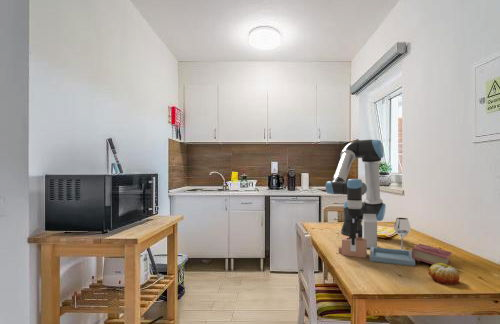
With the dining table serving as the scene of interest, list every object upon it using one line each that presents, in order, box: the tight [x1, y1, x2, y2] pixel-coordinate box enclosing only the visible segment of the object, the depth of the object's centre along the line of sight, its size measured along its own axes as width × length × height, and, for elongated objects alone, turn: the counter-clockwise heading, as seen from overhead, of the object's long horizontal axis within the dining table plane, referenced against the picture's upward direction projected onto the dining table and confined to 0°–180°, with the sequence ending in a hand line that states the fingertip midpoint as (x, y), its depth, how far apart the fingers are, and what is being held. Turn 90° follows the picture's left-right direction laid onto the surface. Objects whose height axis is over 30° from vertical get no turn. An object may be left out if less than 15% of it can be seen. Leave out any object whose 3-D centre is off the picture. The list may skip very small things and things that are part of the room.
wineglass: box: [393, 217, 412, 250], centre depth 177 cm, size 8×8×18 cm
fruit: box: [428, 263, 460, 285], centre depth 132 cm, size 11×10×8 cm
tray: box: [369, 246, 416, 267], centre depth 163 cm, size 20×20×2 cm
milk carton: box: [361, 214, 378, 249], centre depth 186 cm, size 7×7×19 cm
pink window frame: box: [338, 236, 368, 258], centre depth 171 cm, size 14×8×8 cm, turn 68°
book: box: [411, 243, 453, 266], centre depth 156 cm, size 14×15×5 cm
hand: (354, 248), depth 170 cm, fingers open, 13 cm apart
